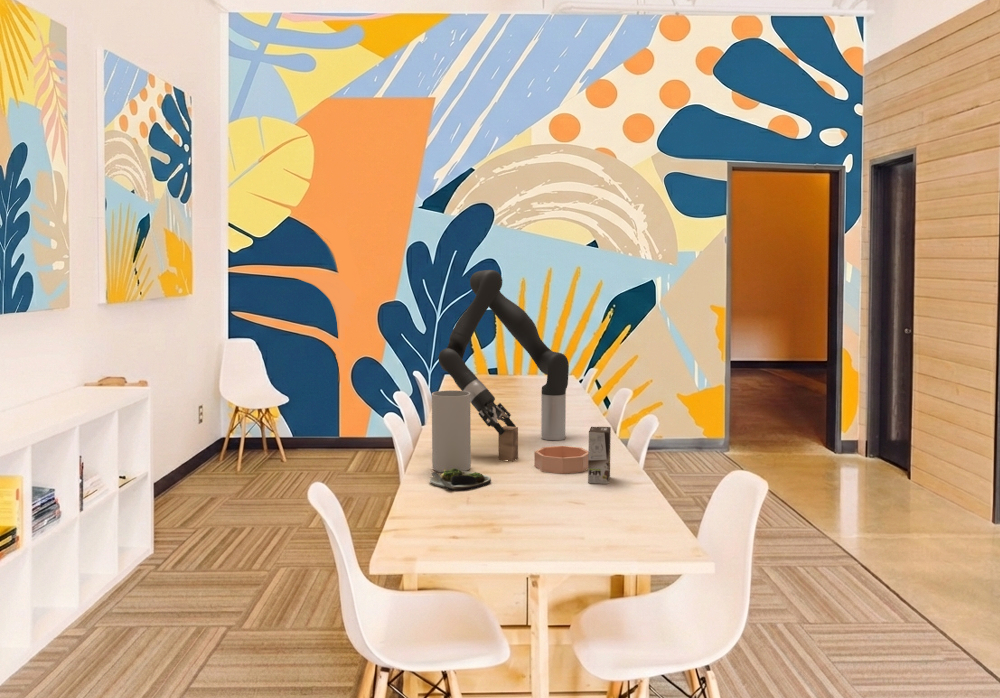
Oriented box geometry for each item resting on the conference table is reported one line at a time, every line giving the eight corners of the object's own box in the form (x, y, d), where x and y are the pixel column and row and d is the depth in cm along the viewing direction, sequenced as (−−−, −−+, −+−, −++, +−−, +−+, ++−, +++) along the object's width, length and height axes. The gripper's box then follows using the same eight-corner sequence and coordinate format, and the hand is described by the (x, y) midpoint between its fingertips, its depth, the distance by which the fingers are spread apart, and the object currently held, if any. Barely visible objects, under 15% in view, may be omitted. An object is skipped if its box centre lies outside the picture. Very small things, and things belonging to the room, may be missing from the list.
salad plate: (412, 483, 254) (412, 468, 254) (454, 472, 267) (454, 458, 267) (456, 495, 241) (456, 480, 241) (498, 483, 254) (498, 468, 254)
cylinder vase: (427, 466, 274) (426, 391, 271) (462, 462, 279) (462, 389, 276) (439, 475, 262) (439, 397, 260) (476, 471, 267) (476, 395, 265)
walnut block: (504, 457, 287) (504, 425, 286) (517, 458, 285) (518, 427, 284) (498, 460, 282) (498, 428, 281) (511, 461, 280) (511, 429, 279)
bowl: (548, 458, 285) (548, 444, 284) (595, 463, 277) (595, 449, 277) (528, 469, 269) (528, 454, 269) (577, 475, 262) (577, 460, 261)
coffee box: (608, 484, 252) (609, 432, 250) (587, 483, 253) (588, 431, 251) (610, 476, 261) (611, 426, 259) (590, 475, 262) (590, 425, 260)
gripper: (475, 391, 279) (506, 427, 275) (494, 385, 291) (524, 420, 287) (462, 405, 281) (492, 441, 278) (481, 399, 294) (510, 434, 290)
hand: (508, 430), depth 282 cm, fingers open, 8 cm apart
